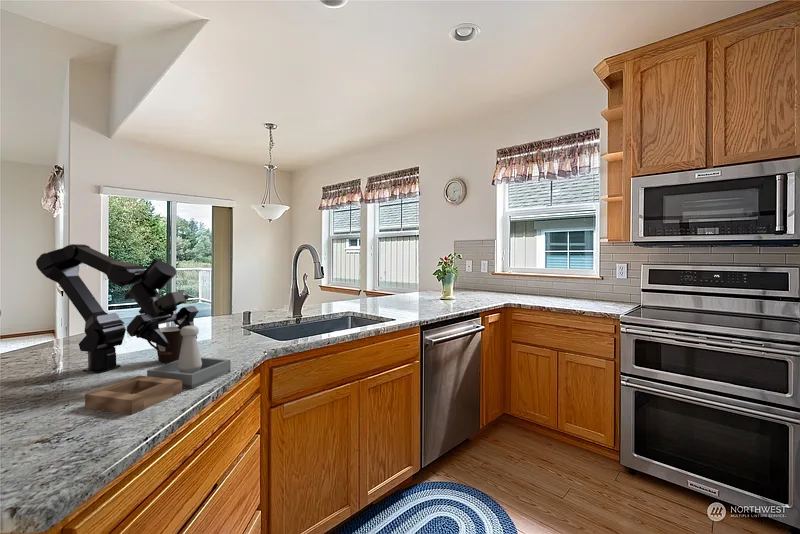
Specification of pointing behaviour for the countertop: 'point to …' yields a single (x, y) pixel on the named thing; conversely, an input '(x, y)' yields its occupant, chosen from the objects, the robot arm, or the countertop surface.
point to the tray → (207, 372)
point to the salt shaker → (189, 351)
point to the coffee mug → (175, 345)
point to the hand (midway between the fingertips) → (182, 343)
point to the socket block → (133, 394)
